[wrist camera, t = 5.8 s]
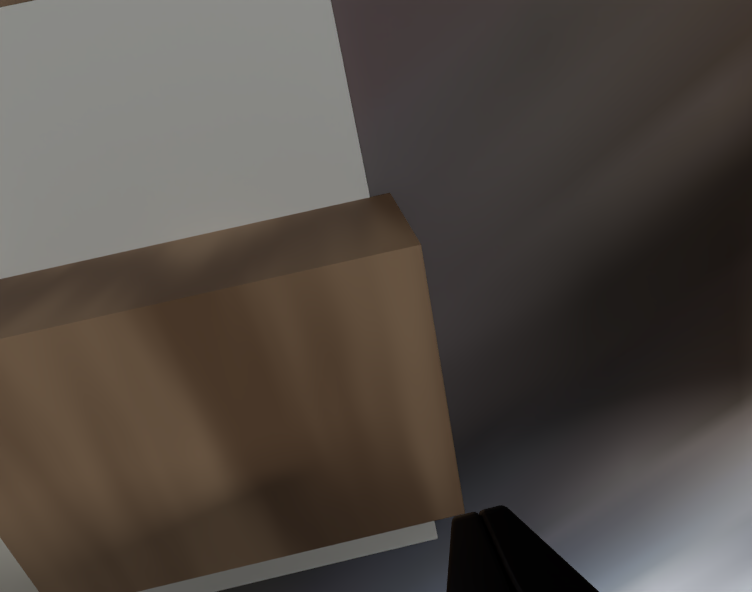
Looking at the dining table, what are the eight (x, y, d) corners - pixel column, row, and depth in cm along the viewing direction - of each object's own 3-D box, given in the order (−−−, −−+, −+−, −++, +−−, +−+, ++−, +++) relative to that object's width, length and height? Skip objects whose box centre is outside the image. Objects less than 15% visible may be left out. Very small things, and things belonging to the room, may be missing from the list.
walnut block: (421, 244, 10) (-236, 391, 9) (464, 513, 13) (-32, 632, 12) (389, 192, 13) (-86, 298, 13) (430, 411, 16) (44, 501, 16)
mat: (318, -56, 11) (319, -58, 11) (436, 531, 19) (437, 538, 19) (-479, 108, 11) (-498, 109, 11) (-26, 641, 19) (-31, 650, 18)
